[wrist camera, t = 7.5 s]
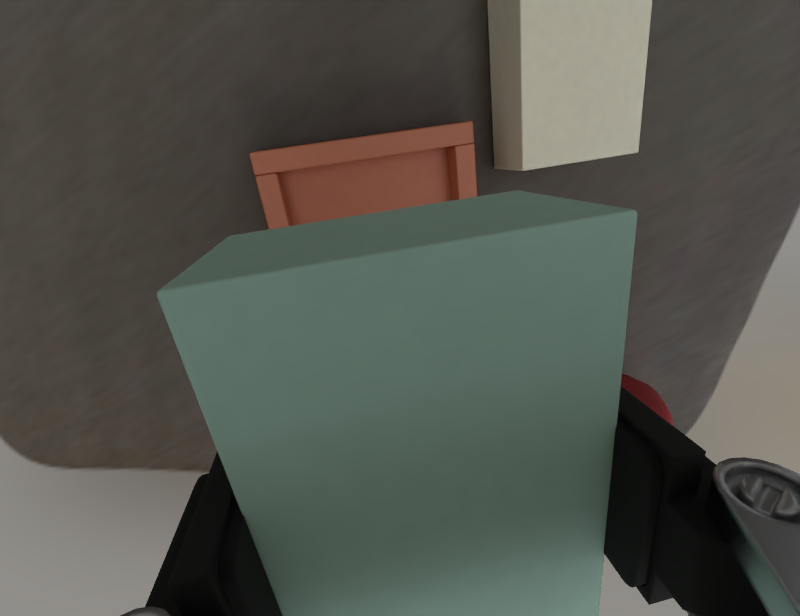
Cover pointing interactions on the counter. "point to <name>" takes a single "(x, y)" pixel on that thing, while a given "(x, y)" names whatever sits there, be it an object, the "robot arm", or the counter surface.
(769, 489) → the robot arm
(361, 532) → the pad base
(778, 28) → the counter surface
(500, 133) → the pad top
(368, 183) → the holder
